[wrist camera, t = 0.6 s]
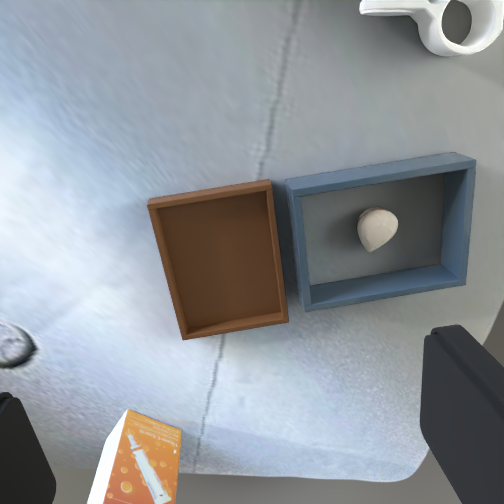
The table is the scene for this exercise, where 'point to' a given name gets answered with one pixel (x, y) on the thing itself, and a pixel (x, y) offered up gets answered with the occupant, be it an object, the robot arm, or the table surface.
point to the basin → (399, 282)
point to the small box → (138, 463)
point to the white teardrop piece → (376, 227)
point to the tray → (221, 258)
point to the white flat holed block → (429, 22)
